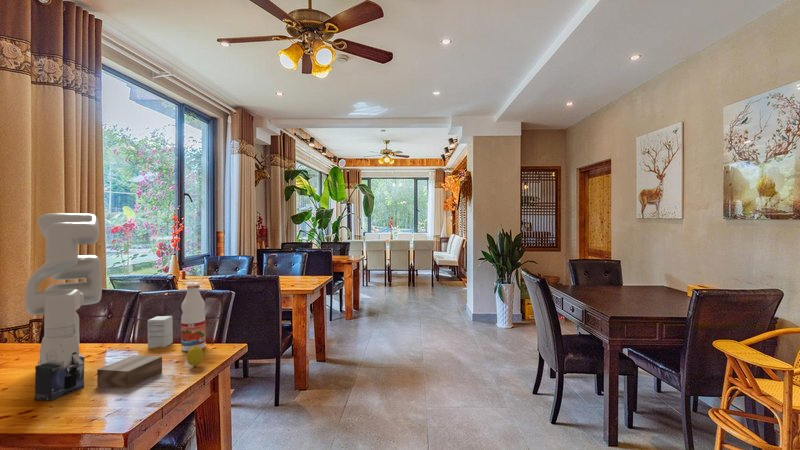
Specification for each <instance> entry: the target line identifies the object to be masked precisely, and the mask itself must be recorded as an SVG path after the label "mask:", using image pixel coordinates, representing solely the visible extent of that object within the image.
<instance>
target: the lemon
mask: <svg viewBox="0 0 800 450" xmlns="http://www.w3.org/2000/svg"><path fill="white" fill-rule="evenodd" d="M204 354H205V353H204V351H203V348H202V349H201V348H200V347H197V346H194V347H193V348H191V349H190V350H189V351H187V355H186V359H187V360H186V361H187V363H188V365H190V366H193V367H194V368H197V366H198V365H201V363H202V362H203V359H204Z"/></svg>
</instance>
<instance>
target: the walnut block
mask: <svg viewBox="0 0 800 450" xmlns="http://www.w3.org/2000/svg"><path fill="white" fill-rule="evenodd" d="M96 370H97V373H96V374H97V376H96V377H97V384H96V387H97V388H98V387H100V388H101V387H102V388H112V389H113V388H114V389H126V390H127V389H131V388H133V387H134V386H136V385H139V384H140V383H143V382H144V381H147V380H149V379H151V378H153V377H155V376H157V375H159V374H161V373H163V356H158V355H157V356H154V355H139V354H138V355H136V354H134V355H131V356H128V357H126V358H123V359H120V360H119V361H115V362H112V363H110V364H109V365H108V364H107V365H105V366H103V367H100V368H98V369H96Z"/></svg>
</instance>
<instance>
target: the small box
mask: <svg viewBox="0 0 800 450" xmlns="http://www.w3.org/2000/svg"><path fill="white" fill-rule="evenodd" d="M79 358H80V359H81V360H82V362H83V363H84V364H83V366H82V367H81V368H80V370H79V371H78V373H77V374H76V386H74V387H71V388H69V389H65V377H66V373H65V370H64V369H59V365H53V364H41V365H35V366H34V368H35V374H34V375H35V376H34V378H35V379H34V380H35V381H34V398H33V399H34V400H38V401H45V402H51V401H53V400H56V399H58V398H61V397H63V396H66V395H68V394H71V393H73V392H76V391H78V390H81V389H83V388H85V356H84V357H81V356H79ZM70 365H72V363H70ZM70 365H69V366H70ZM69 370H70V371H71V370H72V367H70V368H69Z"/></svg>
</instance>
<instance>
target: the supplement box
mask: <svg viewBox="0 0 800 450" xmlns="http://www.w3.org/2000/svg"><path fill="white" fill-rule="evenodd" d="M173 323H174V322H173V315H164V316H163V315H162V316H161V315H159V316H154V317H153V318H150V319H147V349H157V348H156V347H165V348H166V347H167V346H169V345H171V344H172V343H174V341H173V340H174V339H173V338H174V336H173V335H174V330H173V329H174V328H173Z"/></svg>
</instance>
